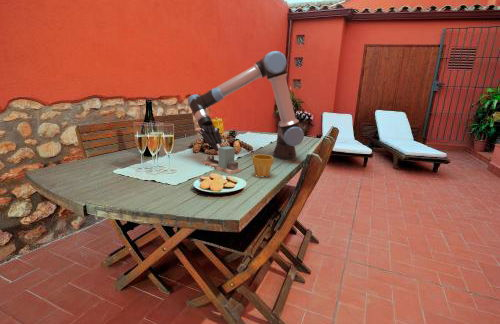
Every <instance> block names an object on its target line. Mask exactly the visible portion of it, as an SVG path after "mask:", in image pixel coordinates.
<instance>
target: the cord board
mask: <svg viewBox="0 0 500 324" xmlns="http://www.w3.org/2000/svg"><path fill="white" fill-rule="evenodd" d="M218 161H219V160H217V159H215V155H211V156H210V155H207V156H206V161H205V160H204V161H203V163H202V164H203V165H204V164H205V166H207V165H208V166H207V167H209V166H211V167H210V168H212V167H214V168H213V169H215V168H216V169H215V170H218V171H220V172H222V173H226V174H229V175H233V174H237V173H240V172H242V168H240V167H239V162H238V161H236V160H234V161H232V162H229V164H227V168H223V167H220V166H218Z"/></svg>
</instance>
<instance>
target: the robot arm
mask: <svg viewBox="0 0 500 324" xmlns="http://www.w3.org/2000/svg"><path fill="white" fill-rule="evenodd" d="M287 75H288V71H287V58H286V56H285V54H284V53H282V52H281V51H279V50H273V51H270V52H267V53H266V54H265V55H264V56H263V57H262V58H261V59H260V60H258V61H257V62H255V63H253V65H252V66H251V67H249V68H247V69H246V70H244V71H243V72H241V73H239V74H237V75H235V76H233V77H231V78H230V79H228V80H226V81H224V82H223V83H221V84H219V85H217V86H216V87H213V88H212V89H210V90H208V91H207V92H205V93H203V94H202V95H199V94H198V93H195V94H192V95H190V96H188V98H187V102H188V107H189V109H190V110H191V112H192V114H193V117H194V118H195V120H196V122H197V125H198V126H199V131H198V133H199V135H200V136H201V137H202V138H203V139H204V141H205V142H206V143H207V145H208V146H209V147H211V148H213V150H214V151H215V152H216V154H217V156H219V147H222V145H221V144H222V143H223V140H222V137H221V133H220V128H219V127H218V128H216V126H214V123H213V120H212V118H211V116H210V115H209V114H210V113H208V110H207V109H208V108H209V107H212V106H214V105H215V104H217V103H220V102H221V101H222V100H224V98H226V97H227V96H229V95H231V94H233V93H234V92H236V91H238V90H240V89H242V88H243V87H246V86H247V85H249V84H250V83H252V82H253V83H254V81H256V80H258V79H263V78H265V77H266V78H267V80H268V82H270V84H271V87H272V92H273V95H274V99H275V103H276V106H277V107H276V108H277V111H278V115H279V118H280V121H278V124H277V133H276V135H277V136H276V137H277V138H276V144H275V146H274V149H273V151H272V157H274V156H275V158H277V157H279V158H278V159H282V158H294V159H296V158H297V150H296V146H299V145H300V144H302V142H303V141H304V138H305V134H304V130H303V129H302V128H301V124H300V120H299V119H297V118H296V114H295V111H294V107H293V102H292V98H291V94H290V90H289V87H288V82H287ZM295 157H296V158H295Z"/></svg>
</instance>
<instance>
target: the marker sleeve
mask: <svg viewBox="0 0 500 324" xmlns="http://www.w3.org/2000/svg"><path fill="white" fill-rule="evenodd" d="M235 154H236V148H235V147H232V146H229V145H227V146H221V147H219V155H218V160H217V161H218V166H220V167H223V168H227V164H229V162H232V161H235Z"/></svg>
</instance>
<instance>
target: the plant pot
mask: <svg viewBox="0 0 500 324" xmlns="http://www.w3.org/2000/svg"><path fill="white" fill-rule="evenodd" d="M252 164H253V167H254V168H253V169H254V175H255V176H256V175H257V176H256V177H258V176H268V175H270V172H271V169H272V166H273V164H274V156H273V155H270V154H263V153H262V154H261V153H260V154H254V155H253V156H252ZM268 177H269V176H268Z"/></svg>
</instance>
